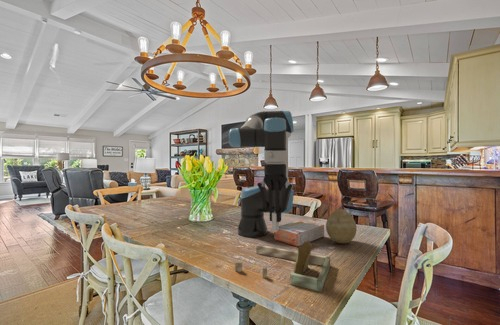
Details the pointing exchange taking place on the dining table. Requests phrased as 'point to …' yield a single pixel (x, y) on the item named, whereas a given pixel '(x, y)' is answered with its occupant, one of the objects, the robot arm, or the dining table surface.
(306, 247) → the rock
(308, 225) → the cracker box
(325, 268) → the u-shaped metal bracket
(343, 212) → the fossilized egg
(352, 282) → the dining table surface
